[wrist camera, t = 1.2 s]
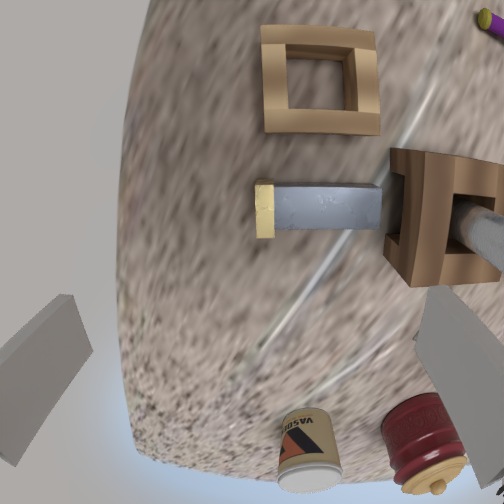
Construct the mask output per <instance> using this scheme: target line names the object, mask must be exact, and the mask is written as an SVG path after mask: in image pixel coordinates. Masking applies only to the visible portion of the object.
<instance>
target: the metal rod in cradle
mask: <svg viewBox="0 0 504 504" xmlns="http://www.w3.org/2000/svg"><path fill="white" fill-rule="evenodd" d="M448 235H450V236H452V237H453V238H455V239H456V240H457V241H459V242H460V243H462V244H463V245H465V246H466V247H468V248H469V249H471V250H472V251H473V252H475V253H476V254H478V255H479V256H481V257H482V258H483V259H485V260H486V261H487V262H489V263H490V264H491V265H493V266H494V267H495V268H497V269H498V270H499V271H501V272H502V273H503V274H504V216H502V215H500V214H498V213H496V212H493V211H491V210H489V209H487V208H484V207H482V206H480V205H478V204H475V203H473V202H471V201H468V200H466V199H463V198H461V197H458V196H456V195H453V200H452V209H451V218H450V225H449V232H448Z"/></svg>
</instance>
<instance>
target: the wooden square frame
mask: <svg viewBox="0 0 504 504" xmlns="http://www.w3.org/2000/svg"><path fill="white" fill-rule="evenodd" d="M260 28H261V49H262V71H263V96H264V123H265V133H266V134H275V133H304V134H338V135H356V136H380V100H379V81H378V68H377V56H376V47H375V38H374V32H372V31H365V30H358V29H350V28H340V27H329V26H314V25H260ZM286 59H317V60H334V61H342V64H343V79H344V99H345V111H343V110H323V109H288V89H287V68H286Z"/></svg>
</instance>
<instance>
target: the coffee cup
mask: <svg viewBox="0 0 504 504" xmlns="http://www.w3.org/2000/svg"><path fill="white" fill-rule="evenodd" d="M342 476H343V470H342V468H341V464H340V459H339V454H338V450H337V445H336V441H335V437H334V432H333V428H332V424H331V420H330V417H329V415H328V414H327V413H326V412H325V411H323V410H321V409H317V408H303V409H299V410H296V411H293V412H291V413H290V414H288V415H287V416H286V417H285V419H284V421H283V427H282V437H281V447H280V457H279V467H278V475H277V483H278V484H279V486H280V487H281V488H282V489H283V490H286V491H288V492H293V493H314V492H319V491H323V490H327V489H329V488H331V487H334V486H335V485H337V484H338V483H339V482H340V481H341V478H342Z"/></svg>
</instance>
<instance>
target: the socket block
mask: <svg viewBox="0 0 504 504" xmlns="http://www.w3.org/2000/svg"><path fill="white" fill-rule="evenodd" d="M390 171H392V172H395V173H398V174H401V175H404V176H405V185H404V200H403V212H402V223H401V232H400V234H386V235H385V245H384V253H383V256H384V257H385V258H386V259H387V260H388V261H389V263H390V264H391V265H392V266H393V267H394V269H395V270H396V271H397V272H398V273H399V275H400V276H401V277H402V278H403V279H404V281H405V282H406V283H407V284H408V286H409V287H410V288H413V287H429V286H437V285H461V284H475V283H487V282H498V281H500V277H501V273H502V272H501V271H499V270H498V269H497V268H495V267H494V266H493V265H491V264H490V263H489V262H487V261H486V260H485V259H483V258H482V257H481V256H479V255H478V254H476V253H475V252H473V251H472V250H471V249H469V248H468V247H466V246H465V245H463V244H462V243H460V242H459V241H457V240H456V239H455V238H453V237H452V236H450V235H448V232H449V225H450V218H451V209H452V200H453V193H454V195H456V196H458V197H461V198H463V199H466V200H468V201H471V202H473V203H475V204H478V205H480V206H482V207H484V208H487V209H489V210H491V211H493V212H496V213H498V214H500V215H502V216H504V165H501V164H497V163H492V162H487V161H483V160H478V159H472V158H467V157H461V156H454V155H448V154H441V153H434V152H426V151H418V150H409V149H400V148H390Z"/></svg>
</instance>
